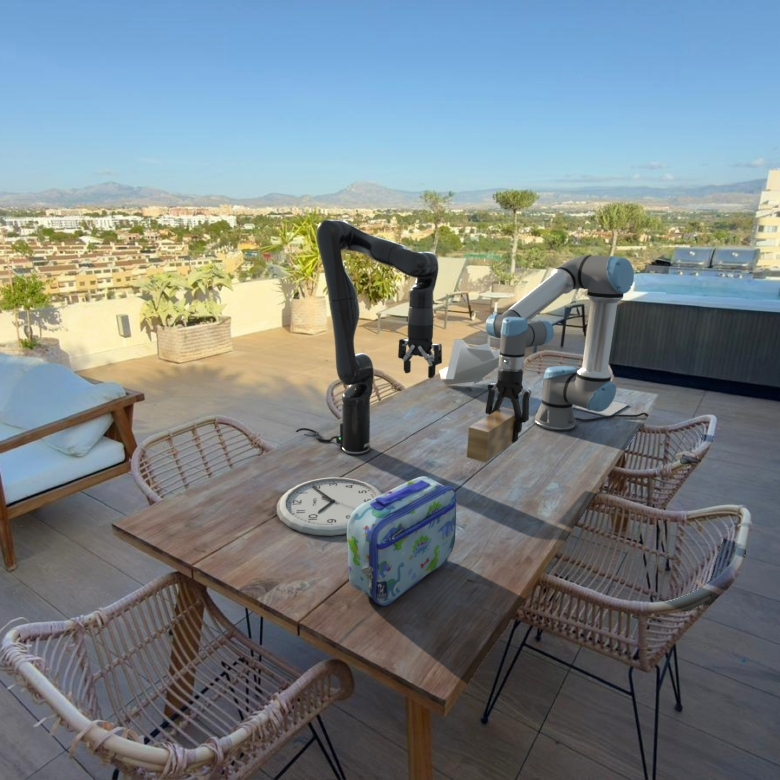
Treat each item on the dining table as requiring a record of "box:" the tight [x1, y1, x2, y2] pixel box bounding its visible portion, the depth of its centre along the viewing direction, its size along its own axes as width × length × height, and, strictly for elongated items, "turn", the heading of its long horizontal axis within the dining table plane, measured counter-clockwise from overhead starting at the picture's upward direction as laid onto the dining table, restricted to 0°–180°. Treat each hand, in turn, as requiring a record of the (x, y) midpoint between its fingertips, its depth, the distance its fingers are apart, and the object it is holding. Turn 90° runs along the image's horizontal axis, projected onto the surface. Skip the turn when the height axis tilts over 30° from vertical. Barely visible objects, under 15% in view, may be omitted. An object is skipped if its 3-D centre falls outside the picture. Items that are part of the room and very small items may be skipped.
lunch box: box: [346, 475, 457, 607], centre depth 111 cm, size 26×11×21 cm, turn 134°
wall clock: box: [276, 476, 384, 537], centre depth 142 cm, size 30×2×30 cm
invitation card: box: [573, 400, 629, 417], centre depth 226 cm, size 21×1×15 cm
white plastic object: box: [438, 310, 529, 391], centre depth 245 cm, size 37×45×31 cm
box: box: [466, 406, 516, 464], centre depth 159 cm, size 22×6×10 cm, turn 143°
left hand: (419, 375), depth 159 cm, fingers open, 8 cm apart
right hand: (504, 438), depth 166 cm, fingers closed on box, 6 cm apart
